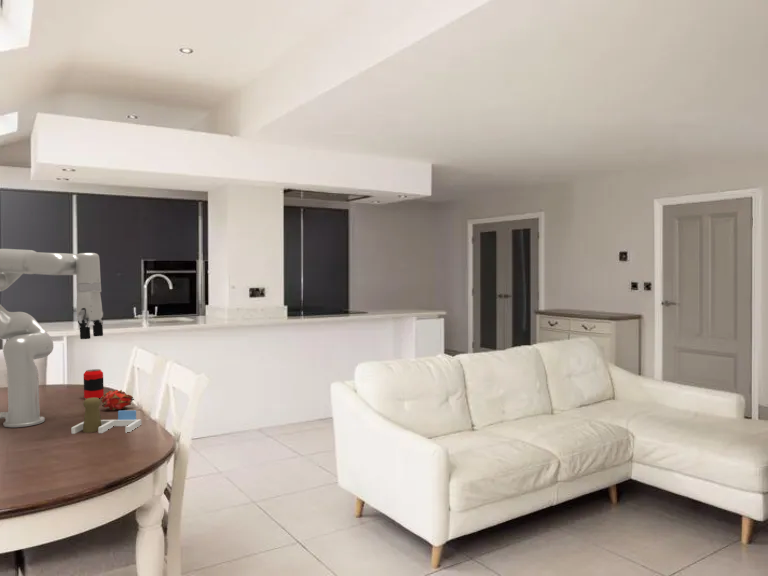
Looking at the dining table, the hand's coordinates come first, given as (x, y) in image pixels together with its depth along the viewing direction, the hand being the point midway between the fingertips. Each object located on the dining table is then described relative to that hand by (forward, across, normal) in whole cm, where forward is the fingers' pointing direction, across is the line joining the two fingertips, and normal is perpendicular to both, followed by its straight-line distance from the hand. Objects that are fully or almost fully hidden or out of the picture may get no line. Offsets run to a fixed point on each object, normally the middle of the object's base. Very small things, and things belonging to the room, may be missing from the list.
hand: (92, 337), depth 211 cm
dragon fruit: (+31, -25, -3) cm, 40 cm away
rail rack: (+31, +6, +6) cm, 32 cm away
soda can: (+30, -48, -22) cm, 61 cm away
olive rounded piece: (+31, +6, +1) cm, 32 cm away
